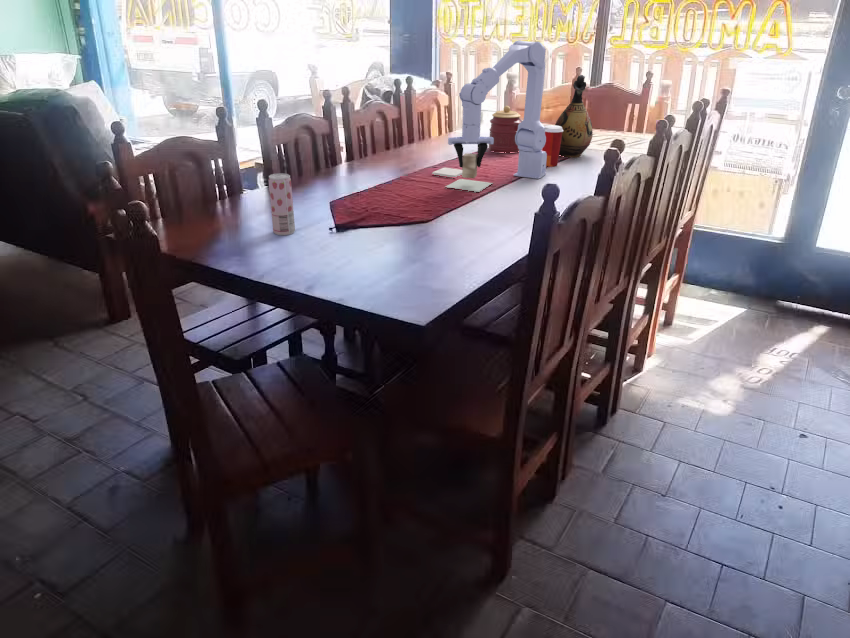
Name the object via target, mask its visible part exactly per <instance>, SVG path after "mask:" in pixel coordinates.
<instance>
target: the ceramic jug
mask: <svg viewBox="0 0 850 638" xmlns="http://www.w3.org/2000/svg"><path fill="white" fill-rule="evenodd" d="M585 78H586V76H585V75H582V74H580V75H578V76H577V78H576V80H574V82H573V84H572V85H573V89H574V93H573V97H572V99H571V101H570V103H569V104H568V105H567V106H566V107H565V109H564V110H563V111H562V112H561V114H560V115H559V117H558V118H557V120H556V121H555V123H554V125H556V126H561V127H562V129H563V132H562V138H561V144H560V151H559V155H561V156H564V157H568V158H567V159H570V158H571V159H577V158H580V157H581V156H582V154H583V153H584V152H585V151H586V149H588V148H589V147H590V145H591V143H592V140H593V133H594V132H593V125H592V120H591V118H590V115H589V112H588V110H587V108H586V107H585V105H584V102H583V92H584V91H586V87H587V83H586V81H585ZM561 156H560V157H561ZM564 157H563V158H564Z"/></svg>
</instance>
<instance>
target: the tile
mask: <svg viewBox="0 0 850 638" xmlns="http://www.w3.org/2000/svg"><path fill="white" fill-rule="evenodd" d="M432 174H434V175H440V176H447V177H457V176H460V175H462V169H459V168H452V167H441V168H439V169H437V170H434V171H433V172H432V173H431V175H432ZM460 177H461V176H460Z"/></svg>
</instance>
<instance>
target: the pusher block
mask: <svg viewBox="0 0 850 638" xmlns="http://www.w3.org/2000/svg"><path fill="white" fill-rule="evenodd" d="M477 158H478V153H468V152H467V153H463V167H461V168H462V169H461V170H462V176H461V177H462V179H463V178H464V179H475V178H476V177H477V175H478V166H477Z"/></svg>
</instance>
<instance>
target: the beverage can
mask: <svg viewBox="0 0 850 638" xmlns="http://www.w3.org/2000/svg"><path fill="white" fill-rule="evenodd" d="M268 188H269V190H268V191H269V199H270V209H271V211H270V213H271V222H272V232H273V233H274V234H275V235H277V236H289V235H293V234H294V233H295V231H296V224H295V214H294V211H295V210H294V204H293V203H294V201H293V200H294V199H293V190H292V189H293V188H292V179H291V175H290V174H289V173H283V172H281V173H272V174H270V175H268Z"/></svg>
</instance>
